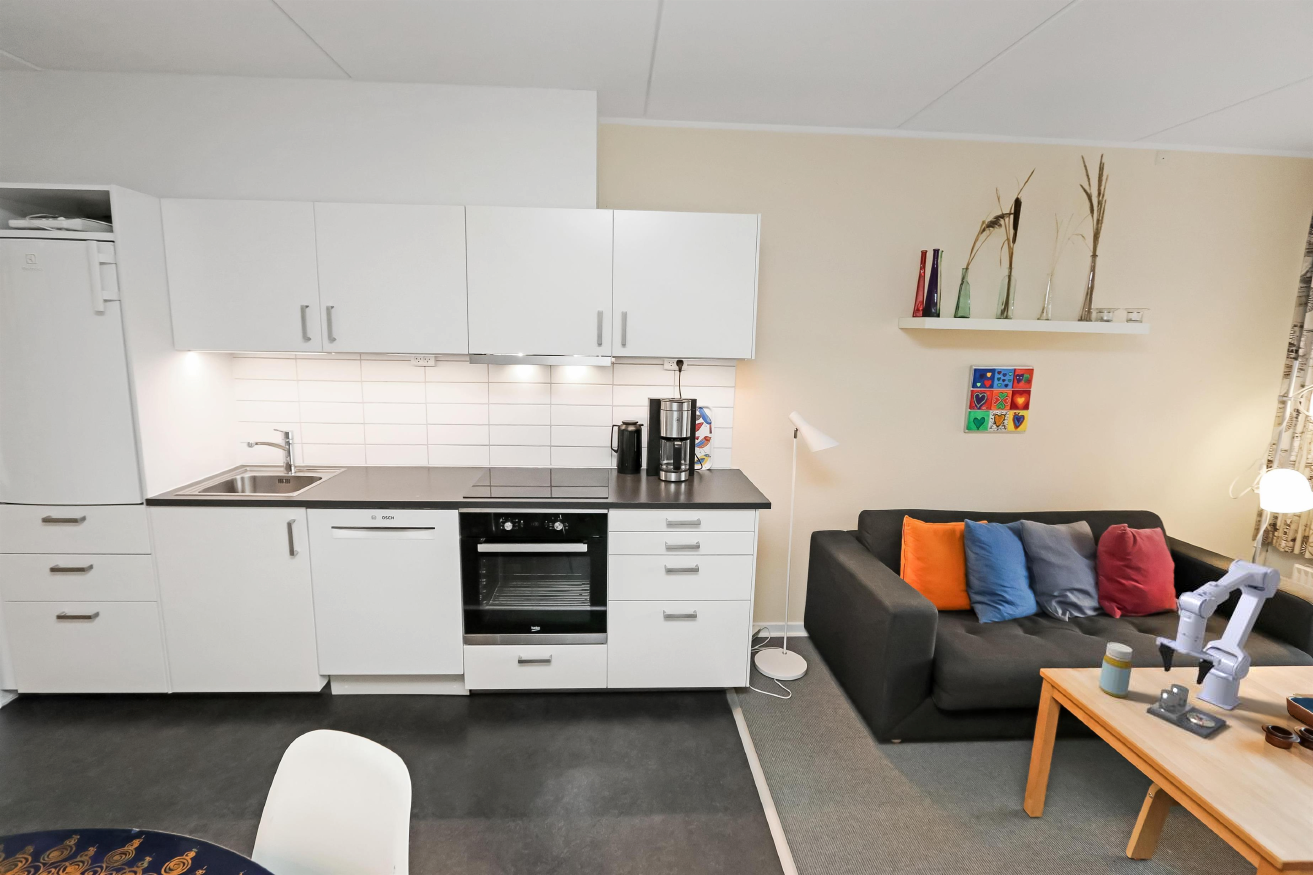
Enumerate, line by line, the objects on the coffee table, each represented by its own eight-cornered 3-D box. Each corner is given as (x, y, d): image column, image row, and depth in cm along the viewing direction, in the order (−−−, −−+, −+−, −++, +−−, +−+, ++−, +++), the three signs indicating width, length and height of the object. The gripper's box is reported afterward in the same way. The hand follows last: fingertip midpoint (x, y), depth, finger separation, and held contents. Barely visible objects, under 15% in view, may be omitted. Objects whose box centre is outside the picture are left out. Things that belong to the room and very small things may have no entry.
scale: (1168, 700, 184) (1169, 693, 184) (1225, 724, 172) (1227, 717, 172) (1146, 712, 177) (1147, 705, 177) (1204, 738, 166) (1206, 731, 165)
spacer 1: (1156, 707, 176) (1158, 691, 175) (1161, 703, 178) (1164, 687, 178) (1173, 714, 173) (1175, 698, 172) (1178, 710, 175) (1181, 694, 174)
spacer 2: (1165, 700, 180) (1167, 684, 179) (1174, 698, 181) (1177, 683, 180) (1180, 707, 176) (1182, 692, 175) (1189, 706, 177) (1192, 690, 177)
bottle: (1098, 683, 192) (1105, 639, 190) (1126, 691, 188) (1133, 646, 186) (1098, 692, 187) (1106, 647, 185) (1127, 701, 183) (1134, 655, 181)
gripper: (1154, 626, 180) (1147, 668, 182) (1216, 647, 168) (1208, 692, 170) (1165, 621, 184) (1158, 663, 186) (1227, 642, 171) (1219, 686, 173)
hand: (1183, 676), depth 178 cm, fingers open, 7 cm apart
